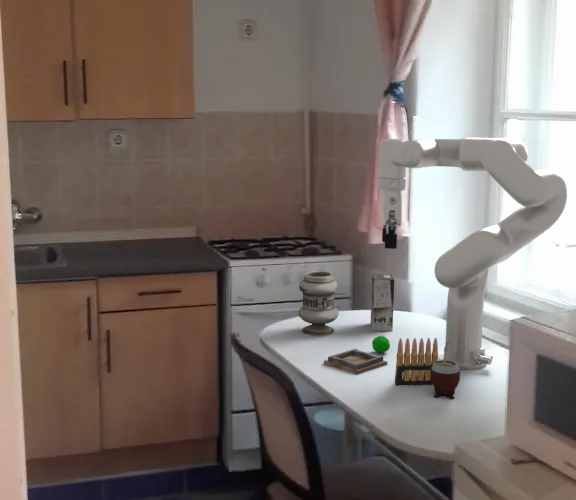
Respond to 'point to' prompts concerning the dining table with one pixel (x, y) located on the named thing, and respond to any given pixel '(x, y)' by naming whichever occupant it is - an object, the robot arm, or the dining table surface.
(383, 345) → the polyhedron
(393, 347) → the dining table surface
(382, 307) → the coffee box
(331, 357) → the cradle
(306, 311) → the apothecary jar
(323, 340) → the dining table surface
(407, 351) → the ammunition clip
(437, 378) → the mate gourd
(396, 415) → the dining table surface
